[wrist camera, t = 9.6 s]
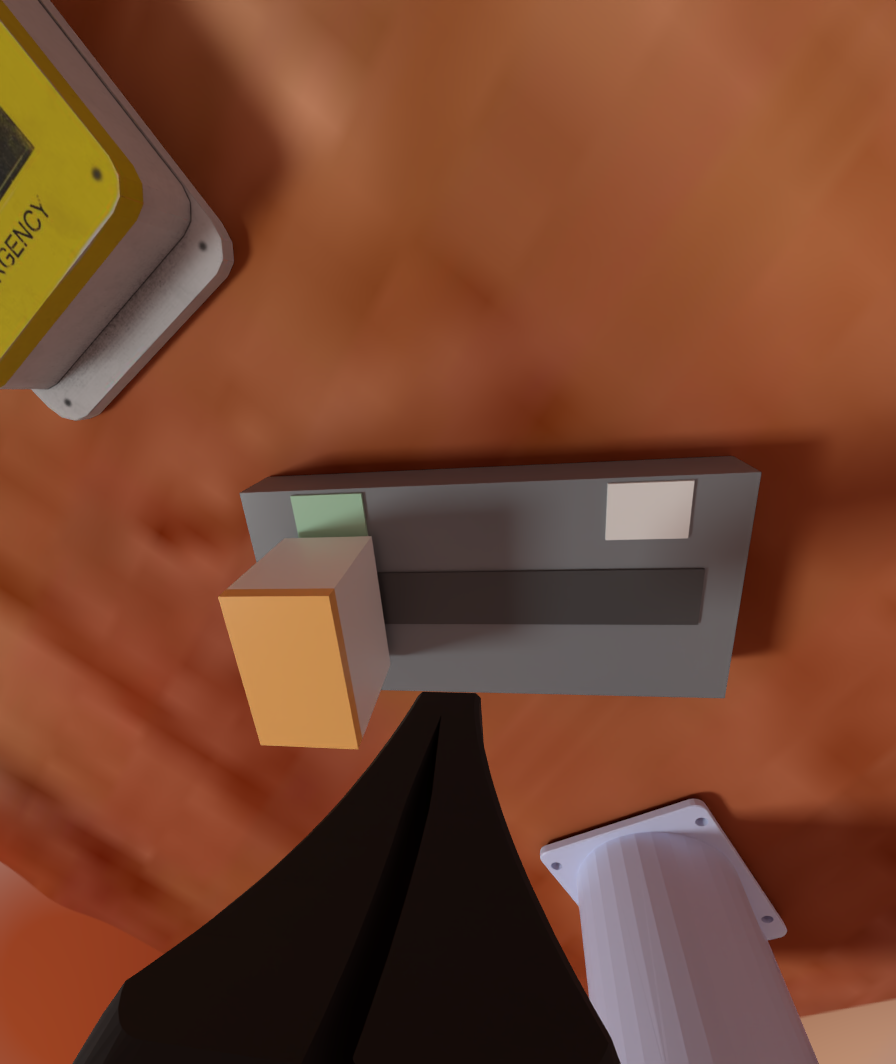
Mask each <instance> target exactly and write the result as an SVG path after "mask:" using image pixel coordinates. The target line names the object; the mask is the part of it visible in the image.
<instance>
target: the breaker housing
mask: <svg viewBox="0 0 896 1064" xmlns="http://www.w3.org/2000/svg"><path fill="white" fill-rule="evenodd" d="M760 478H761V472H760V471H759V470H757V469H755V468H753V467H752V466H750V465H748V464H746V463H744V462H743V461H741V460H739V459H737V458H735V457H734V456H718V457H696V458H674V459H652V460H629V461H607V462H585V463H563V464H541V465H519V466H497V467H474V468H452V469H430V470H408V471H386V472H364V473H342V474H319V475H297V476H275V477H267V478H265V479H263V480H261V481H260V482H258V483H256V484H255V485H253V486H251V487H249V488H248V489H246V490H244V491H242V492H241V493H240V497H241V501H242V505H243V509H244V513H245V517H246V521H247V525H248V529H249V533H250V537H251V541H252V545H253V549H254V553H255V557H256V561H257V562H258V561H259V560H260V559H261V558H263V557H264V556H265V555H266V554H267V553H268V552H269V551H270V550H272V549H273V548H274V547H275V546H276V545H277V544H278V543H280V542H281V541H282V540H283V539H284V538H317V537H357V536H372V542H373V549H374V556H375V563H376V569H377V576H378V583H379V590H380V596H381V603H382V610H383V617H384V624H385V630H386V637H387V644H388V651H389V657H390V667H389V670H388V672H387V675H386V677H385V680H384V683H383V685H382V688H381V690H406V691H447V692H489V693H531V694H572V695H614V696H656V697H697V698H725V693H726V687H727V680H728V674H729V668H730V662H731V656H732V650H733V644H734V638H735V631H736V625H737V619H738V613H739V607H740V601H741V595H742V589H743V582H744V576H745V570H746V564H747V558H748V552H749V546H750V539H751V533H752V527H753V521H754V515H755V509H756V503H757V497H758V490H759V484H760Z"/></svg>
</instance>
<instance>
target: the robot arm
mask: <svg viewBox="0 0 896 1064" xmlns="http://www.w3.org/2000/svg"><path fill="white" fill-rule="evenodd" d="M540 859H541V861H542V862H543V863H544V865H545V866H546V867H547V868H548V869H549V871H550V872H551V873H552V874H553V876H554V877H555V878H556V879H557V880H558V882H559V883H560V884H561V885H562V886H563V888H564V889H565V890H566V891H567V892H568V894H569V895H570V896H571V897H572V899H573V900H574V901H575V902H576V903H577V905H578V906H579V909H580V918H581V927H582V936H583V945H584V954H585V964H586V973H587V982H588V991H589V998H588V996H587V994H586V993H585V991H584V989H583V987H582V985H581V983H580V982H579V980H578V978H577V976H576V974H575V973H574V971H573V969H572V967H571V965H570V963H569V961H568V959H567V957H566V955H565V953H564V952H563V950H562V948H561V946H560V944H559V942H558V940H557V938H556V936H555V934H554V932H553V930H552V928H551V926H550V924H549V922H548V919H547V917H546V915H545V913H544V911H543V909H542V907H541V905H540V903H539V901H538V898H537V896H536V894H535V892H534V890H533V888H532V886H531V884H530V881H529V879H528V877H527V874H526V872H525V870H524V867H523V865H522V862H521V860H520V858H519V855H518V853H517V850H516V848H515V845H514V843H513V840H512V838H511V835H510V832H509V830H508V827H507V824H506V821H505V819H504V816H503V813H502V810H501V807H500V804H499V801H498V797H497V794H496V791H495V788H494V785H493V781H492V778H491V774H490V770H489V766H488V762H487V758H486V754H485V749H484V742H483V727H482V713H481V698H480V697H479V696H478V695H477V694H476V693H447V692H422V693H421V694H420V695H419V696H418V697H417V699H416V700H415V702H414V704H413V705H412V707H411V708H410V710H409V712H408V713H407V715H406V716H405V718H404V719H403V721H402V722H401V724H400V725H399V726H398V728H397V729H396V731H395V732H394V734H393V735H392V737H391V738H390V739H389V741H388V742H387V743H386V745H385V746H384V747H383V749H382V750H381V751H380V753H379V754H378V755H377V757H376V758H375V759H374V761H373V762H372V763H371V765H370V766H369V767H368V768H367V770H366V771H365V772H364V773H363V774H362V776H361V777H360V778H359V779H358V780H357V782H356V783H355V784H354V785H353V787H352V788H351V789H350V790H349V791H348V793H347V794H346V795H345V796H344V797H343V798H342V800H341V801H340V802H339V803H338V804H337V805H336V806H335V807H334V808H333V810H332V811H331V812H330V813H329V814H328V815H327V816H326V817H325V818H324V819H323V820H322V821H321V822H320V823H319V824H318V825H317V826H316V827H315V828H314V829H313V831H312V832H311V833H310V834H309V835H308V836H307V837H306V838H305V839H304V840H302V841H301V842H300V843H299V844H298V845H297V846H296V847H295V848H294V849H293V850H292V851H291V852H290V853H289V854H288V855H287V856H286V857H285V858H283V859H282V860H281V861H280V862H279V863H278V864H277V865H276V866H275V867H274V868H273V869H272V870H270V871H269V872H268V873H267V874H266V875H265V876H264V877H262V878H261V879H260V880H259V881H258V882H257V883H255V884H254V885H253V886H252V887H251V888H249V889H248V890H247V891H246V892H244V893H243V894H242V895H241V896H240V897H238V898H237V899H236V900H235V901H234V902H232V903H231V904H230V905H229V906H227V907H226V908H225V909H224V910H223V911H221V912H220V913H219V914H218V915H216V916H215V917H214V918H213V919H211V920H210V921H209V922H208V923H206V924H205V925H204V926H202V927H201V928H200V929H198V930H197V931H196V932H194V933H193V934H192V935H190V936H189V937H187V938H186V939H185V940H183V941H182V942H180V943H179V944H178V945H176V946H175V947H173V948H172V949H171V950H169V951H168V952H166V953H165V954H164V955H162V956H161V957H159V958H158V959H157V960H155V961H154V962H152V963H151V964H150V965H148V966H147V967H145V968H144V969H143V970H141V971H140V972H138V973H137V974H135V975H134V976H132V977H131V978H129V979H128V980H126V981H125V983H124V984H123V986H122V987H121V988H120V990H119V991H118V993H117V994H116V996H115V997H114V999H113V1000H112V1001H111V1003H110V1004H109V1006H108V1007H107V1009H106V1010H105V1011H104V1013H103V1014H102V1016H101V1018H100V1019H99V1021H98V1023H97V1024H96V1026H95V1028H94V1029H93V1031H92V1032H91V1034H90V1036H89V1037H88V1039H87V1040H86V1042H85V1044H84V1045H83V1047H82V1049H81V1050H80V1052H79V1054H78V1055H77V1057H76V1059H75V1060H74V1062H73V1064H819V1063H818V1061H817V1058H816V1056H815V1053H814V1051H813V1049H812V1046H811V1044H810V1042H809V1039H808V1036H807V1034H806V1032H805V1029H804V1027H803V1024H802V1022H801V1020H800V1017H799V1015H798V1012H797V1010H796V1008H795V1005H794V1003H793V1000H792V998H791V996H790V993H789V991H788V988H787V986H786V984H785V981H784V979H783V976H782V974H781V971H780V969H779V967H778V964H777V962H776V959H775V957H774V955H773V952H772V950H771V947H770V945H769V943H768V940H772V939H776V938H780V937H783V936H784V935H786V933H787V929H786V926H785V924H784V922H783V920H782V919H781V917H780V916H779V914H778V913H777V911H776V910H775V908H774V907H773V905H772V904H771V902H770V901H769V899H768V898H767V896H766V895H765V893H764V892H763V890H762V889H761V887H760V886H759V884H758V883H757V881H756V880H755V878H754V876H753V875H752V873H751V872H750V870H749V869H748V867H747V866H746V864H745V863H744V861H743V860H742V858H741V857H740V855H739V854H738V852H737V851H736V849H735V848H734V846H733V845H732V843H731V842H730V840H729V839H728V837H727V836H726V834H725V833H724V831H723V830H722V828H721V827H720V825H719V824H718V822H717V821H716V819H715V818H714V816H713V815H712V813H711V812H710V810H709V809H708V807H707V806H706V804H705V803H704V802H703V801H701V800H699V799H688V800H685V801H682V802H679V803H676V804H672V805H669V806H666V807H663V808H660V809H657V810H654V811H651V812H648V813H644V814H641V815H638V816H635V817H632V818H629V819H626V820H623V821H620V822H617V823H613V824H610V825H607V826H604V827H601V828H598V829H595V830H592V831H589V832H585V833H582V834H579V835H576V836H573V837H570V838H567V839H564V840H561V841H558V842H554V843H551V844H548V845H545V846H543V847H542V848H541V850H540Z"/></svg>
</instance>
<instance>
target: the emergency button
mask: <svg viewBox="0 0 896 1064" xmlns="http://www.w3.org/2000/svg"><path fill="white" fill-rule="evenodd" d="M233 264H234V255H233V244H232V241H231V239H230V237H229V235H228V233H227V231H226V229H225V227H224V226H223V224H222V222H221V221H220V220H219V218H218V217H217V216H216V215H215V213H214V212H213V211H212V209H211V208H210V207H209V205H208V204H207V203H206V202H205V200H204V199H203V198H202V196H201V195H200V194H199V193H198V191H197V190H196V189H195V187H194V186H193V185H192V183H191V182H190V181H189V180H188V178H187V177H186V176H185V174H184V173H183V172H182V170H181V169H180V168H179V167H178V165H177V164H176V163H175V161H174V160H173V159H172V158H171V156H170V155H169V154H168V152H167V151H166V150H165V148H164V147H163V146H162V145H161V143H160V142H159V141H158V139H157V138H156V137H155V136H154V134H153V133H152V132H151V130H150V129H149V128H148V126H147V125H146V124H145V123H144V121H143V120H142V119H141V117H140V116H139V115H138V114H137V112H136V111H135V110H134V108H133V107H132V106H131V104H130V103H129V102H128V101H127V99H126V98H125V97H124V95H123V94H122V93H121V92H120V90H119V89H118V88H117V86H116V85H115V84H114V82H113V81H112V80H111V79H110V77H109V76H108V75H107V73H106V72H105V71H104V70H103V68H102V67H101V66H100V64H99V63H98V62H97V60H96V59H95V58H94V57H93V55H92V54H91V53H90V51H89V50H88V49H87V48H86V46H85V45H84V44H83V42H82V41H81V40H80V38H79V37H78V36H77V35H76V33H75V32H74V31H73V29H72V28H71V27H70V26H69V24H68V23H67V22H66V20H65V19H64V18H63V16H62V15H61V14H60V13H59V11H58V10H57V9H56V7H55V6H54V5H53V4H52V2H51V1H50V0H0V389H32V391H33V392H34V393H35V394H36V395H37V396H38V397H39V398H40V399H41V400H42V401H43V402H44V403H45V404H46V405H47V406H48V407H49V408H50V409H52V410H53V411H54V412H56V413H57V414H58V415H60V416H61V417H63V418H67V419H71V420H75V421H77V420H84V419H90V418H92V417H94V416H97V415H99V414H100V413H101V412H102V411H103V410H104V409H105V408H106V407H107V406H108V405H109V404H110V402H111V401H112V400H113V399H114V398H115V397H116V396H117V395H118V394H119V393H120V392H121V391H122V390H123V388H124V387H125V386H126V385H127V384H128V383H129V382H130V381H131V380H132V379H133V378H134V377H135V376H136V375H137V373H138V372H139V371H140V370H141V369H142V368H143V367H144V366H145V365H146V364H147V363H148V362H149V361H150V360H151V358H152V357H153V356H154V355H155V354H156V353H157V352H158V351H159V350H160V349H161V348H162V347H163V346H164V345H165V343H166V342H167V341H168V340H169V339H170V338H171V337H172V336H173V335H174V334H175V333H176V332H177V331H178V329H179V328H180V327H181V326H182V325H183V324H184V323H185V322H186V321H187V320H188V319H189V318H190V317H191V316H192V314H193V313H194V312H195V311H196V310H197V309H198V308H199V307H200V306H201V305H202V304H203V303H204V302H205V301H206V299H207V298H208V297H209V296H210V295H211V294H212V293H213V292H214V291H215V290H216V289H217V288H218V287H219V285H220V284H221V283H222V282H223V281H224V280H225V279H226V278H227V277H228V275H229V273H230V270H231V268H232V266H233Z"/></svg>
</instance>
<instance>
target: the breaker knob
mask: <svg viewBox="0 0 896 1064" xmlns="http://www.w3.org/2000/svg"><path fill="white" fill-rule="evenodd" d="M218 598H219V602H220V605H221V609H222V612H223V616H224V619H225V623H226V626H227V630H228V633H229V637H230V640H231V643H232V647H233V650H234V654H235V657H236V661H237V664H238V668H239V671H240V675H241V678H242V682H243V685H244V689H245V692H246V696H247V699H248V702H249V706H250V709H251V713H252V716H253V720H254V723H255V727H256V730H257V734H258V737H259V741H260V744H261V745H271V746H294V747H317V748H340V749H359V746H360V743H361V741H362V738H363V735H364V733H365V730H366V728H367V725H368V722H369V720H370V717H371V714H372V712H373V709H374V706H375V704H376V701H377V699H378V696H379V693H380V691H381V688H382V685H383V683H384V680H385V677H386V675H387V672H388V670H389V667H390V657H389V651H388V644H387V637H386V630H385V624H384V617H383V610H382V603H381V596H380V590H379V583H378V576H377V569H376V563H375V556H374V549H373V542H372V536H357V537H317V538H284V539H283V540H282V541H281V542H280V543H278V544H277V545H276V546H275V547H274V548H273V549H272V550H270V551H269V552H268V553H267V554H266V555H265V556H264V557H263V558H261V559H260V560H259V561H258V562H257V563H256V564H255V565H253V566H252V567H251V568H250V569H249V570H248V571H247V572H246V573H244V574H243V575H242V576H241V577H240V578H239V579H238V580H236V581H235V582H234V583H233V584H232V585H231V586H230V587H229V588H227V589H226V590H225V591H224V592H223V593H222V594H221V595H219V596H218Z"/></svg>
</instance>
